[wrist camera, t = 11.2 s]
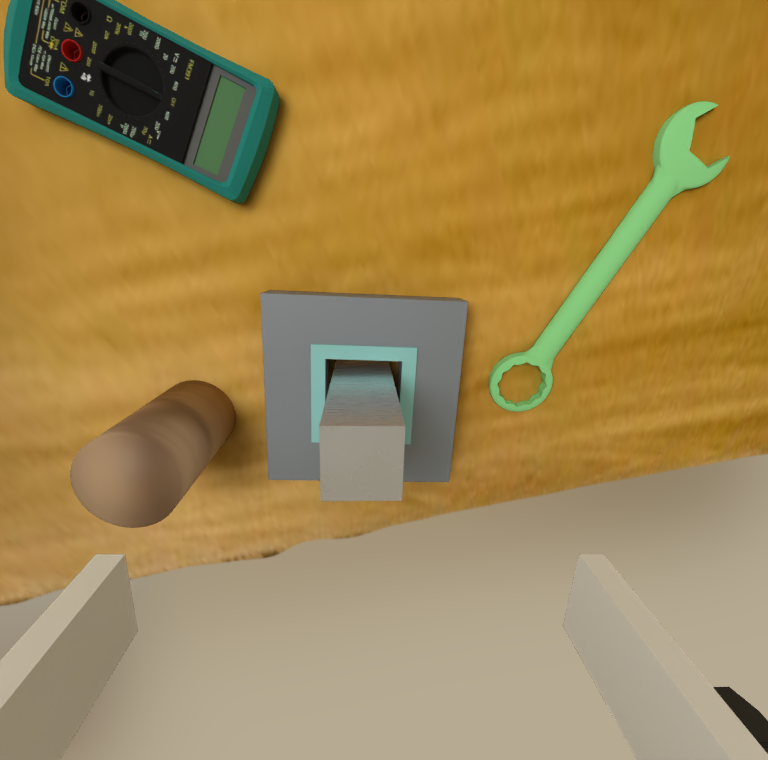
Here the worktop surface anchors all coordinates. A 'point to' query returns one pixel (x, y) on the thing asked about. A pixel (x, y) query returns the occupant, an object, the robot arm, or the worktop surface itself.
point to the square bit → (361, 434)
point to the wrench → (617, 247)
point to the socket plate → (360, 342)
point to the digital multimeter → (142, 88)
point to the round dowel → (152, 455)
